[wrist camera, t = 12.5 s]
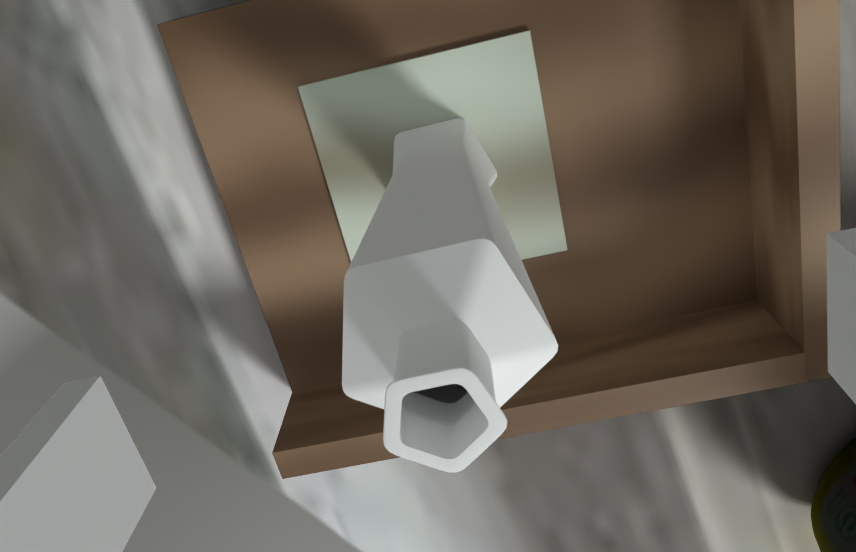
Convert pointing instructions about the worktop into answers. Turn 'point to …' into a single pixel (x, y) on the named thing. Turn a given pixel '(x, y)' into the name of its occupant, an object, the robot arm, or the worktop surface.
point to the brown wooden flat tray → (538, 184)
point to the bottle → (837, 504)
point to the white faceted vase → (440, 304)
